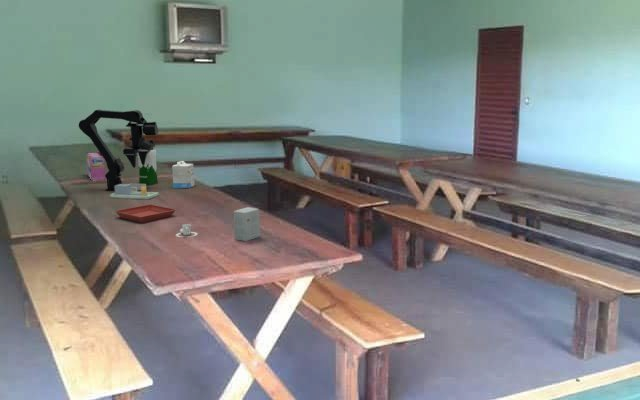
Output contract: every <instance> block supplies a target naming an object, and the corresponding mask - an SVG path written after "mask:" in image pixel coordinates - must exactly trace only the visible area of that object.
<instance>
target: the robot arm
mask: <svg viewBox="0 0 640 400" xmlns="http://www.w3.org/2000/svg"><path fill="white" fill-rule="evenodd" d="M100 119H113V120H122V121H123V120H124V121H126V122H127V124H126V125H125V127H127V128H130V137H129V138H128V140H129V141H130V144H131V145H129V147H125V148H124V149H122V150H123V151H122V153H123V155H124V156H126V158H127V159H128V161H129V162H130V165H131V167H132V168H136V167H137V166H136V165H137V163H136V162H137V158H138V156H137V155H138V154H139V157H140V160H141V163H142V165H144V164H145V160H146V156H147V154H148V153H149V152H150V150H154V149H155V147H156V142H155V140H153V139H151V140H146V138H145V137H144V136H158V134H159V127H158V124H157V121H149V122H148V121H147V120H146V119H145V117H143V113H142V111H140V110H137V109H135V110H127V111H120V110H106V109H105V110H104V109H96V110H94V111H93V112H92V113H91V114H90V115H88V116H87V117H86V118H85V119H82V120H80V121H79V122H78V128H79V130H80V131H81V132H82V133H83V134H84V135H85V136H87V138H89V140H91V142H92V144H93V145H94V146H95V147H96V149H97V150H98V152H100V153H101V155H102V156H103V158H104V161H105V163H106V164H105V165H106V167H107V169H108V171H107V172H106V173H105V177H106V187H107V188H106V189H105V191H114V192H115V186H116V185H119V184H123V181H122V177H121V176H122V173H124V171H125V166H124V165H125V163H123V161H122V160H121V158H120V157H117V158H116V157H115V156H114V155H113V154H112V152H111V150H110V149H109V148H108V146H107V144H106V143H105V142H104V140H103V138H101V135H100V134H99V132H98V128H97V125H96V124H97V123H98V122H99V121H100ZM143 134H144V136H143ZM137 153H138V154H137Z"/></svg>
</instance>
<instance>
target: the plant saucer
mask: <svg viewBox="0 0 640 400" xmlns="http://www.w3.org/2000/svg"><path fill="white" fill-rule="evenodd" d="M176 210H177V209H175V208H171V207H165V206H160V205H155V204H145V205H140V206H139V205H138V206H135V207H129V208H124V209H118V210H115V211H114V212H115V214H117V215H118V216H119V217H120V218H122V219H125V220H128V221H132V222H133V221H135V222H138V223H146V222H151V221H155V220H159V219H160V220H161V219H164V218H168V217H172V216H173V214H175V212H176Z"/></svg>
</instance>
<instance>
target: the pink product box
mask: <svg viewBox="0 0 640 400" xmlns="http://www.w3.org/2000/svg"><path fill="white" fill-rule="evenodd" d="M85 159H86V169H87V171H86V172H87V176H89V177H90V178H89V177H88V178H89V180H90V179H91V180H103V181H107V179H106V177H105V175H106V164H105V163H106V161H105V159H104V158H103V156H102V155H101V153H100V152H99V151H96V152H91V153H90V152H85ZM91 180H90V181H91Z"/></svg>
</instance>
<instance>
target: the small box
mask: <svg viewBox="0 0 640 400" xmlns="http://www.w3.org/2000/svg"><path fill="white" fill-rule="evenodd" d="M260 228H261V227H260V209H259V208H255V207H249V206H248V207H243V208H240V209H237V210H233V230H234V231H233V234H234V240H237V241H242V242H248V241H251V240H253V239H256V238H259V237H260V236H261V234H260V231H261V229H260Z"/></svg>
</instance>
